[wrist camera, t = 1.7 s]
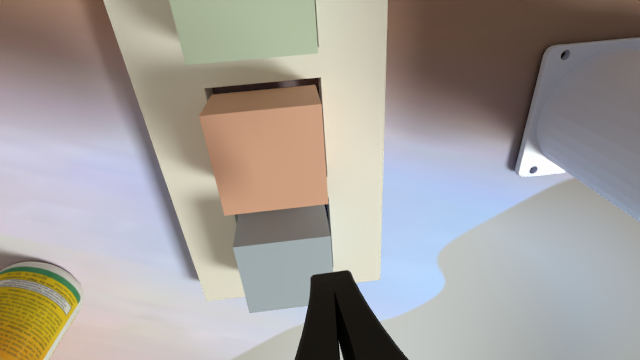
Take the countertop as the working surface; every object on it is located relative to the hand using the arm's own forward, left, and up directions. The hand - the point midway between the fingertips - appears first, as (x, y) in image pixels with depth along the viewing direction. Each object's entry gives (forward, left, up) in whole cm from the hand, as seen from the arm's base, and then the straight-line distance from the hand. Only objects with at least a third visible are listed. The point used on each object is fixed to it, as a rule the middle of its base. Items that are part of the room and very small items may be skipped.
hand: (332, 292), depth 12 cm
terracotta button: (+2, -3, -8) cm, 9 cm away
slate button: (+2, +4, -8) cm, 10 cm away
